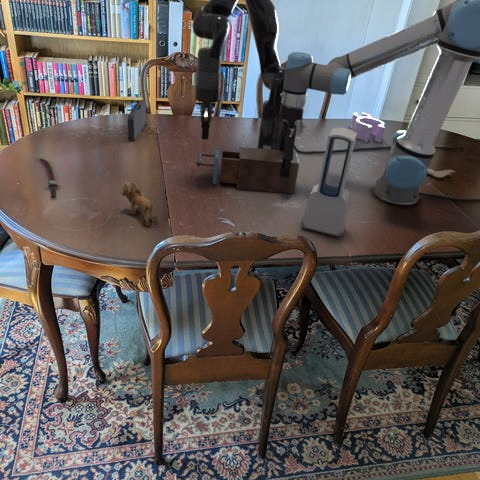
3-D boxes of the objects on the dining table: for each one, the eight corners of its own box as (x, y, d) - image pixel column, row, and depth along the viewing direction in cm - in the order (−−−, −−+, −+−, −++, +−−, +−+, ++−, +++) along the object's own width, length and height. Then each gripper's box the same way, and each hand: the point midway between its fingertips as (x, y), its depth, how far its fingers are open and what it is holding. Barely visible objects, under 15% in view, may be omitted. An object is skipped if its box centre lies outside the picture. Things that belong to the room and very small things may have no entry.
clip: (343, 126, 223) (346, 112, 219) (367, 127, 225) (371, 113, 221) (360, 142, 206) (364, 127, 202) (386, 142, 209) (390, 127, 205)
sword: (61, 197, 141) (61, 193, 140) (50, 198, 139) (50, 194, 139) (49, 160, 164) (48, 156, 163) (39, 160, 163) (39, 157, 162)
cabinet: (236, 188, 157) (239, 158, 151) (235, 176, 165) (239, 146, 159) (293, 193, 158) (299, 163, 152) (290, 180, 166) (295, 151, 161)
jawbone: (446, 183, 178) (448, 178, 177) (396, 166, 188) (397, 162, 187) (454, 175, 183) (456, 170, 182) (405, 159, 194) (406, 154, 193)
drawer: (195, 182, 156) (196, 156, 151) (196, 171, 163) (198, 146, 158) (267, 188, 157) (271, 163, 152) (265, 176, 165) (269, 152, 160)
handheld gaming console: (139, 121, 202) (139, 98, 197) (146, 122, 202) (145, 99, 197) (127, 140, 183) (126, 115, 178) (134, 141, 183) (133, 116, 178)
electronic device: (344, 227, 141) (368, 132, 125) (340, 239, 135) (365, 141, 119) (304, 217, 144) (322, 123, 128) (299, 229, 138) (317, 131, 122)
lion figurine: (118, 210, 138) (116, 182, 133) (132, 204, 141) (131, 177, 137) (151, 229, 130) (150, 201, 126) (165, 223, 134) (165, 195, 129)
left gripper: (196, 78, 148) (194, 130, 157) (194, 89, 137) (192, 145, 146) (220, 80, 148) (216, 132, 158) (219, 91, 137) (216, 147, 147)
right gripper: (277, 94, 156) (269, 156, 168) (284, 115, 137) (274, 183, 149) (299, 96, 156) (289, 157, 168) (309, 117, 137) (297, 185, 149)
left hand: (205, 138), depth 152 cm, fingers closed
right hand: (282, 170), depth 159 cm, fingers closed on cabinet, 10 cm apart
